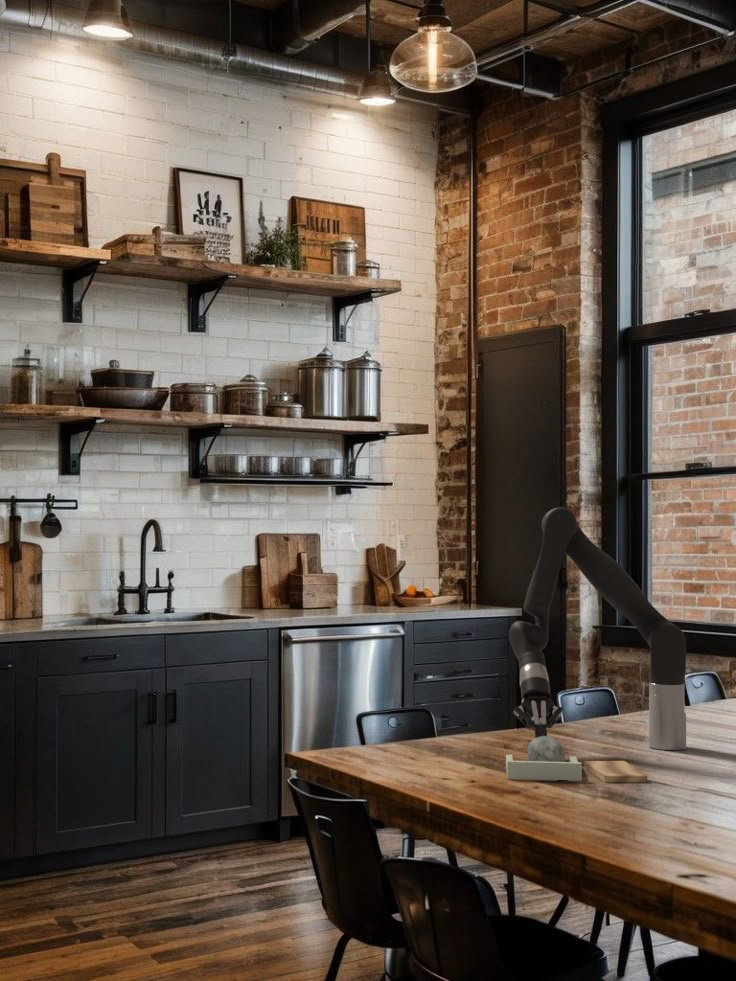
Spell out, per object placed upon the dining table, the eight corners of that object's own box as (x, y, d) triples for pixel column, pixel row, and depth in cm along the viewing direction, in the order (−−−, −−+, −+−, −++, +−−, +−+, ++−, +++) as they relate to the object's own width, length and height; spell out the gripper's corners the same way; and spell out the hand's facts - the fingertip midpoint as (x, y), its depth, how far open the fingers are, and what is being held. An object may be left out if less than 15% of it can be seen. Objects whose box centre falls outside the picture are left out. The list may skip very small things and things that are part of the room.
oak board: (624, 767, 296) (624, 760, 296) (647, 782, 278) (647, 775, 278) (584, 767, 295) (584, 761, 295) (604, 782, 277) (604, 775, 277)
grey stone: (523, 750, 298) (540, 718, 295) (557, 769, 297) (576, 737, 294) (514, 774, 285) (532, 740, 282) (550, 794, 284) (569, 760, 281)
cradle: (575, 766, 295) (575, 750, 296) (581, 781, 278) (581, 763, 278) (505, 764, 297) (505, 748, 297) (507, 779, 280) (507, 761, 280)
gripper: (510, 675, 312) (516, 730, 300) (561, 675, 312) (569, 731, 300) (508, 693, 317) (513, 748, 305) (558, 693, 318) (566, 748, 305)
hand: (541, 739), depth 302 cm, fingers closed
